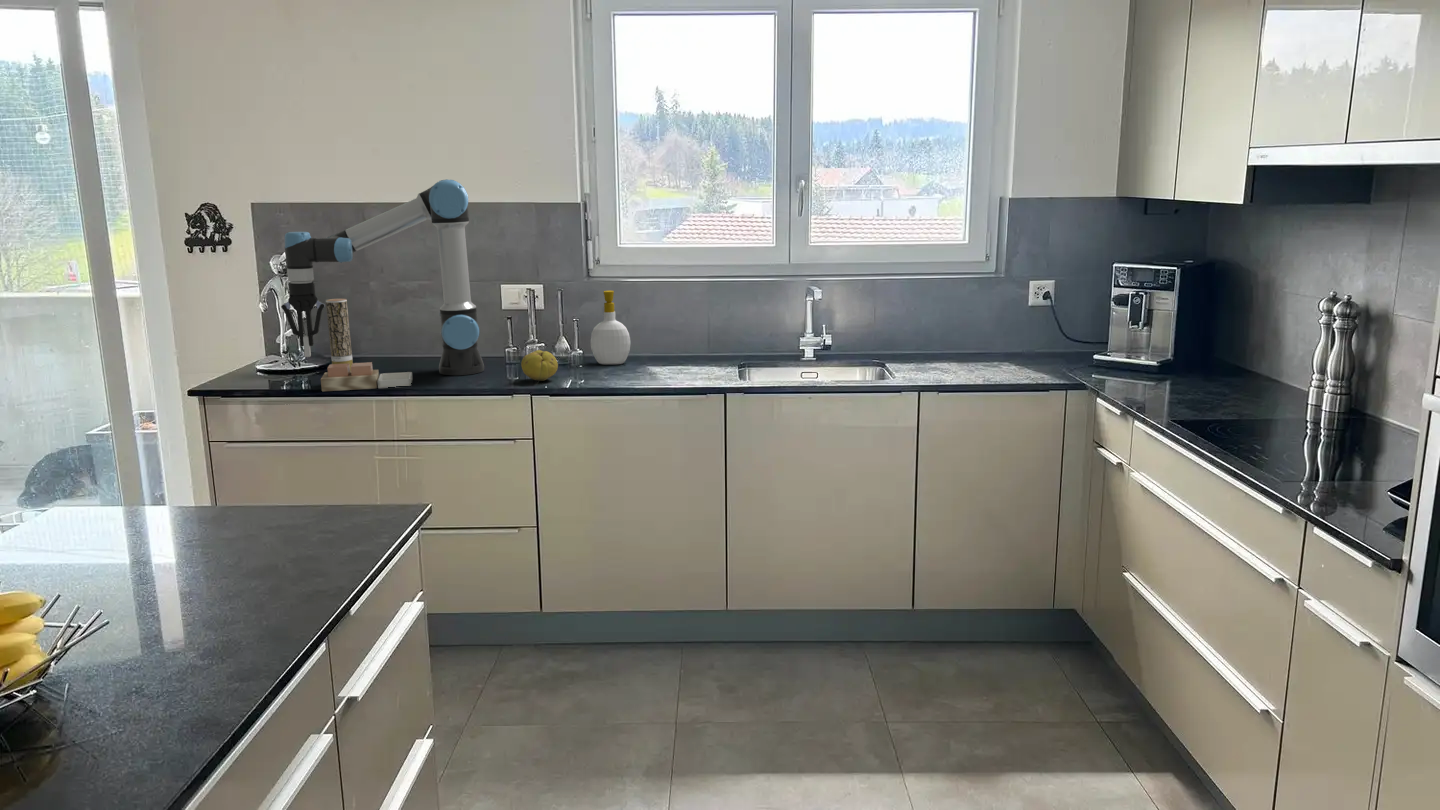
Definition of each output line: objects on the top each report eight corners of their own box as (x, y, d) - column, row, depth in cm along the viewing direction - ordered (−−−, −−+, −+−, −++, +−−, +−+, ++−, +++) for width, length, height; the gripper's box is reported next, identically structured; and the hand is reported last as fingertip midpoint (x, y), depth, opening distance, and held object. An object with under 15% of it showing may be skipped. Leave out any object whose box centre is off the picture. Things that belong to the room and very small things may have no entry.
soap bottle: (632, 361, 363) (630, 288, 357) (629, 365, 354) (627, 291, 348) (593, 361, 363) (590, 289, 357) (589, 365, 355) (586, 292, 349)
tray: (412, 379, 335) (411, 371, 334) (410, 386, 323) (410, 378, 323) (381, 381, 332) (380, 373, 332) (378, 388, 321) (377, 380, 320)
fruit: (521, 378, 334) (519, 349, 332) (557, 376, 337) (555, 347, 334) (522, 385, 324) (521, 354, 321) (559, 383, 326) (558, 352, 324)
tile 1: (350, 372, 326) (349, 363, 326) (348, 376, 321) (347, 366, 320) (330, 373, 325) (329, 364, 324) (328, 377, 319) (327, 367, 319)
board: (379, 381, 332) (378, 369, 331) (376, 388, 321) (375, 376, 320) (326, 384, 328) (325, 372, 327) (321, 391, 317) (320, 379, 316)
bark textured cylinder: (346, 373, 345) (339, 301, 339) (328, 373, 346) (321, 300, 340) (357, 370, 351) (350, 298, 346) (339, 369, 353) (332, 298, 347)
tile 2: (372, 371, 328) (372, 362, 327) (371, 374, 322) (370, 365, 322) (353, 372, 327) (352, 363, 326) (351, 375, 321) (350, 366, 320)
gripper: (324, 280, 319) (331, 353, 324) (280, 281, 316) (287, 355, 321) (321, 282, 312) (328, 357, 317) (276, 283, 309) (283, 359, 314)
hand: (307, 356), depth 319 cm, fingers closed
